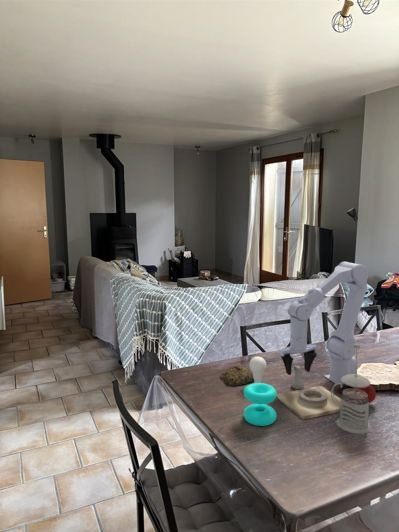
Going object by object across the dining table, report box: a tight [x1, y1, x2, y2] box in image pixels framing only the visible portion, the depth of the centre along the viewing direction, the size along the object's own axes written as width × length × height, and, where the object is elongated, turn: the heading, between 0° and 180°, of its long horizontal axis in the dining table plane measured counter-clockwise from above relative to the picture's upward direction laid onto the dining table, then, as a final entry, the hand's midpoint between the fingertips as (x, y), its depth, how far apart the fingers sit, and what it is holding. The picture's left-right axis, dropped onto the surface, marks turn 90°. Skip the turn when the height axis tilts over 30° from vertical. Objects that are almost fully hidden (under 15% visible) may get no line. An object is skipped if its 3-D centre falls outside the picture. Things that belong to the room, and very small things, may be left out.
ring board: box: [276, 385, 352, 420], centre depth 133 cm, size 18×16×3 cm
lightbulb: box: [248, 356, 267, 383], centre depth 146 cm, size 6×6×11 cm
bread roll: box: [220, 364, 254, 386], centre depth 154 cm, size 13×12×5 cm
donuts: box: [243, 382, 278, 427], centre depth 123 cm, size 10×10×10 cm
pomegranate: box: [356, 384, 377, 404], centre depth 132 cm, size 6×6×8 cm
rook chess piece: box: [291, 364, 305, 390], centre depth 145 cm, size 4×4×8 cm
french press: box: [330, 343, 372, 435], centre depth 119 cm, size 10×12×25 cm
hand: (297, 372), depth 145 cm, fingers open, 7 cm apart
